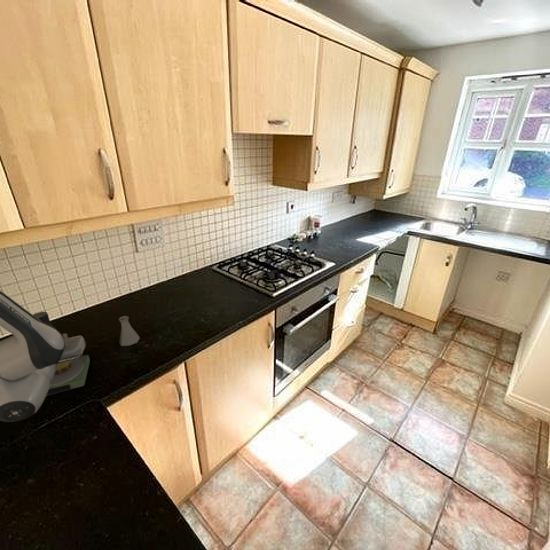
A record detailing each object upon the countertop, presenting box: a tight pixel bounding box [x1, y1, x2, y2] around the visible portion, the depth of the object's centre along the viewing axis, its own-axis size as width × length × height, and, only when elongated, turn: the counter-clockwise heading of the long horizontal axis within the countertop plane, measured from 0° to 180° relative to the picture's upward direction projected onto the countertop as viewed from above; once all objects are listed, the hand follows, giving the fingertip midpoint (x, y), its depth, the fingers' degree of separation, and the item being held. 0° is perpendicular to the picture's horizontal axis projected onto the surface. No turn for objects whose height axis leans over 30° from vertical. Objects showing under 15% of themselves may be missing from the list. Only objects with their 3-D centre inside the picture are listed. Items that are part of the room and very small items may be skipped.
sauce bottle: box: [32, 311, 72, 375], centre depth 91 cm, size 7×6×20 cm
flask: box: [118, 315, 140, 347], centre depth 112 cm, size 7×7×10 cm
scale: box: [46, 354, 91, 397], centre depth 96 cm, size 13×14×3 cm
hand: (49, 338), depth 91 cm, fingers closed on sauce bottle, 6 cm apart
